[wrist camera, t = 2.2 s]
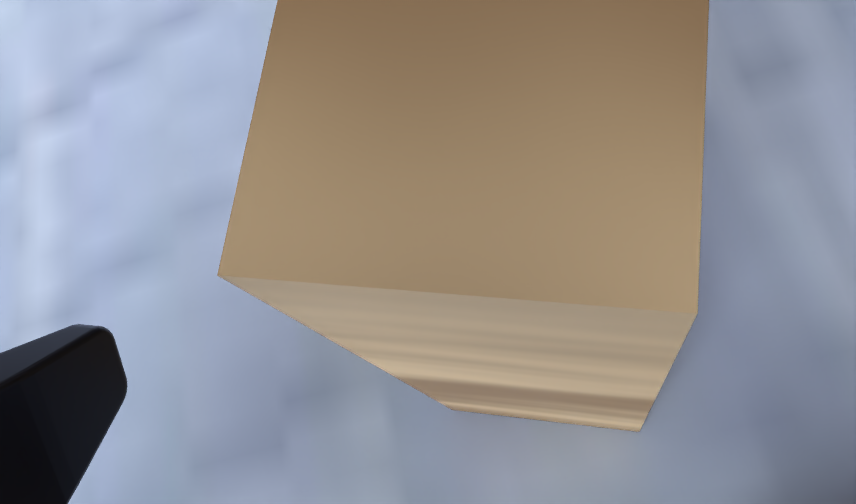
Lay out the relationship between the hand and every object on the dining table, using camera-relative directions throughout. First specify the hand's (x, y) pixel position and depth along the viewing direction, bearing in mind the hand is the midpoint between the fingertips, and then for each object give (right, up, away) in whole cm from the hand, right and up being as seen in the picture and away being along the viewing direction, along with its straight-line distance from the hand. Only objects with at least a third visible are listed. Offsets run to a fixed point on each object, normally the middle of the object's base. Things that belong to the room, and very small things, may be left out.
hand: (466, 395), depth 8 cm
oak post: (+3, 0, +10) cm, 10 cm away
